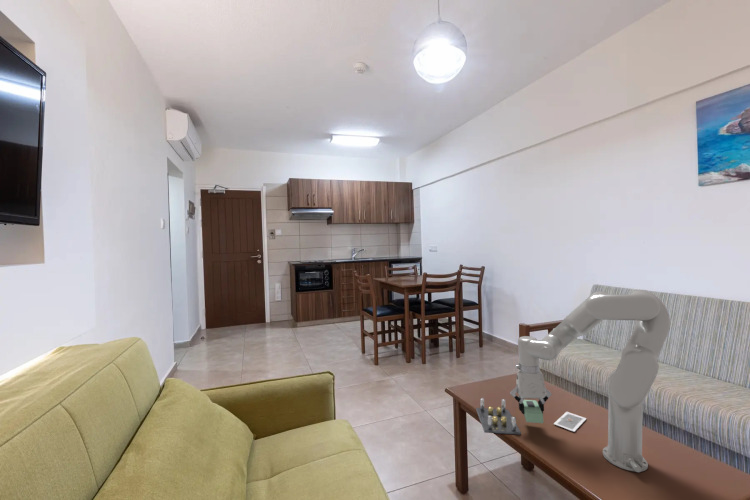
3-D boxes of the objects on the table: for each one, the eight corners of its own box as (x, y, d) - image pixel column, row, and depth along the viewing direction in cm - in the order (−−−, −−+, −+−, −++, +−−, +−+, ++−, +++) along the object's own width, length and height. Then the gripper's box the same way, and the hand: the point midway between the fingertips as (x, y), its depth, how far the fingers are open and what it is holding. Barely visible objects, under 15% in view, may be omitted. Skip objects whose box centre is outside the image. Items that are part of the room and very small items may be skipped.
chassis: (520, 434, 132) (521, 419, 131) (484, 432, 133) (484, 417, 133) (508, 411, 149) (508, 398, 149) (476, 410, 151) (476, 397, 151)
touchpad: (586, 421, 142) (586, 416, 142) (574, 434, 132) (574, 429, 132) (566, 413, 148) (566, 409, 148) (553, 426, 138) (553, 421, 138)
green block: (543, 423, 127) (542, 412, 128) (526, 422, 129) (526, 411, 129) (536, 408, 139) (536, 398, 139) (521, 407, 141) (520, 398, 141)
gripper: (509, 371, 132) (511, 416, 131) (555, 371, 130) (558, 417, 129) (504, 365, 139) (506, 407, 139) (548, 364, 137) (550, 408, 137)
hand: (531, 412), depth 134 cm, fingers closed on green block, 6 cm apart
